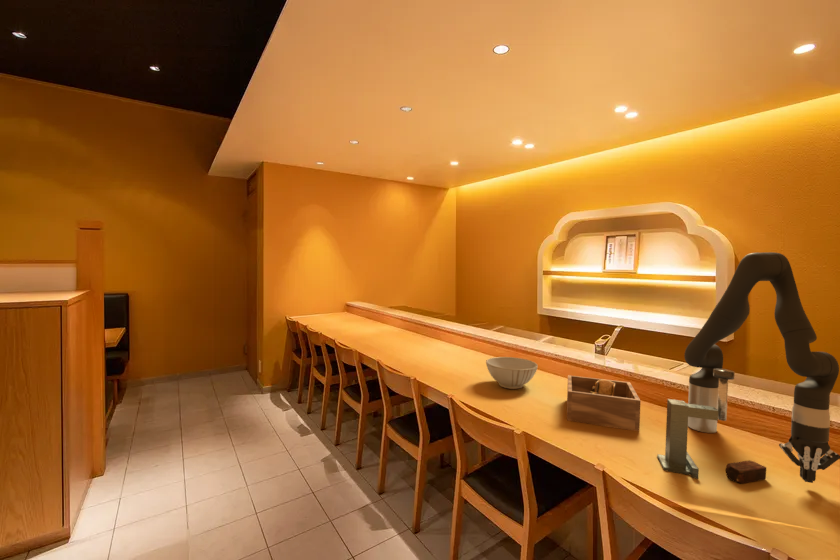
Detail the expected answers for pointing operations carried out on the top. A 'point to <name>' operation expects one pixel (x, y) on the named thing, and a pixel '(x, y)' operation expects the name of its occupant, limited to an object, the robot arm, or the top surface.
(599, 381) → the armchair
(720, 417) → the ram
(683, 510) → the top surface
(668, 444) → the press frame
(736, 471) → the brick
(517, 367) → the decorative bowl
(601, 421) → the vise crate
